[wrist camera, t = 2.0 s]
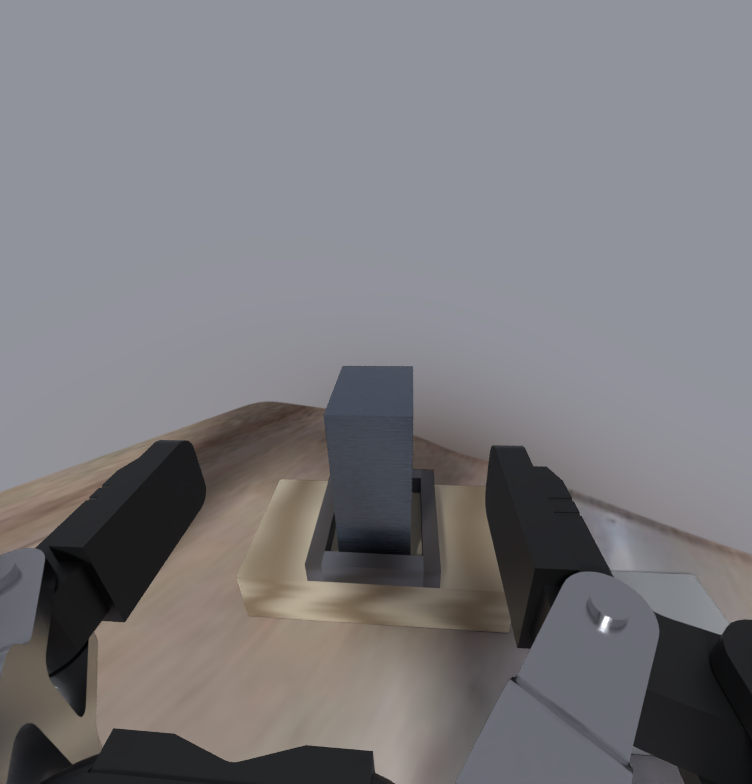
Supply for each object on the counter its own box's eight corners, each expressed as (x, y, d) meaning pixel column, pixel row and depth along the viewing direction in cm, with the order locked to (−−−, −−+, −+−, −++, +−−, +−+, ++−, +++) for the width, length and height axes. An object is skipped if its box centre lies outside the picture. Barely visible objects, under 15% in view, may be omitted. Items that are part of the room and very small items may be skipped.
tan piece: (248, 615, 26) (231, 560, 23) (287, 514, 33) (277, 465, 31) (508, 633, 24) (521, 575, 21) (484, 522, 32) (492, 471, 29)
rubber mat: (605, 751, 19) (608, 745, 19) (544, 572, 28) (545, 567, 27) (826, 771, 18) (833, 765, 18) (690, 580, 27) (694, 574, 27)
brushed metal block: (339, 561, 24) (323, 414, 19) (352, 494, 30) (342, 365, 25) (410, 564, 24) (413, 416, 19) (410, 496, 29) (412, 366, 24)
